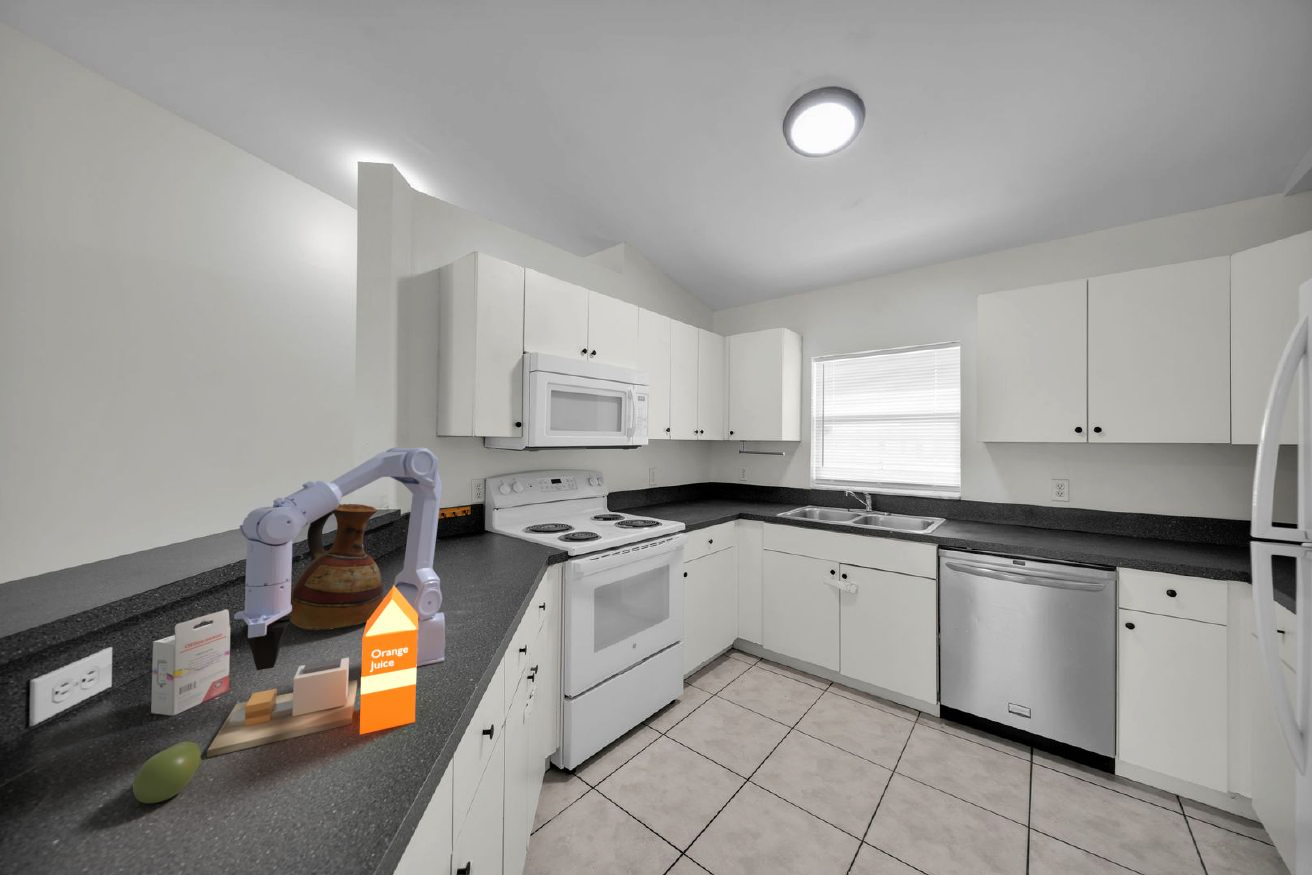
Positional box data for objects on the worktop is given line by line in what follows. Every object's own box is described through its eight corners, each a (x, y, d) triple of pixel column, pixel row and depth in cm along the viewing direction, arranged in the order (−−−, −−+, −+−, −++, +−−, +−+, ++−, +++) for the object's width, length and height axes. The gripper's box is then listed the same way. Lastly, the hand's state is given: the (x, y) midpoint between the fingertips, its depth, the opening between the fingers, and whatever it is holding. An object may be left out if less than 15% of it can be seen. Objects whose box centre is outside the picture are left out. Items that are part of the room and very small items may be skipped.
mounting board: (357, 685, 86) (357, 680, 86) (351, 723, 74) (351, 717, 74) (236, 709, 78) (236, 703, 78) (207, 757, 66) (207, 750, 66)
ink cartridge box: (207, 688, 85) (211, 606, 85) (229, 691, 84) (232, 608, 84) (148, 713, 76) (152, 622, 77) (171, 717, 75) (175, 625, 76)
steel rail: (348, 694, 81) (348, 688, 81) (347, 702, 78) (347, 696, 78) (234, 718, 73) (234, 711, 73) (228, 728, 71) (229, 721, 71)
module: (347, 691, 82) (349, 653, 82) (345, 704, 77) (346, 665, 77) (298, 701, 78) (299, 662, 78) (292, 716, 74) (293, 675, 74)
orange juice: (358, 734, 71) (362, 601, 72) (364, 706, 79) (367, 587, 80) (416, 721, 75) (419, 595, 75) (416, 696, 82) (418, 581, 83)
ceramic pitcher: (350, 640, 107) (354, 508, 108) (263, 639, 107) (268, 508, 108) (398, 611, 126) (401, 500, 128) (325, 610, 127) (328, 499, 128)
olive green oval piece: (126, 768, 55) (157, 739, 63) (120, 819, 54) (154, 782, 62) (190, 752, 58) (213, 726, 66) (187, 800, 57) (210, 768, 65)
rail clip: (276, 707, 77) (276, 688, 77) (269, 720, 73) (270, 701, 73) (252, 712, 75) (253, 693, 75) (244, 726, 71) (245, 706, 71)
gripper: (248, 574, 80) (245, 655, 79) (221, 597, 67) (218, 693, 67) (300, 569, 83) (297, 647, 83) (284, 590, 71) (281, 682, 70)
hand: (266, 667), depth 75 cm, fingers closed
